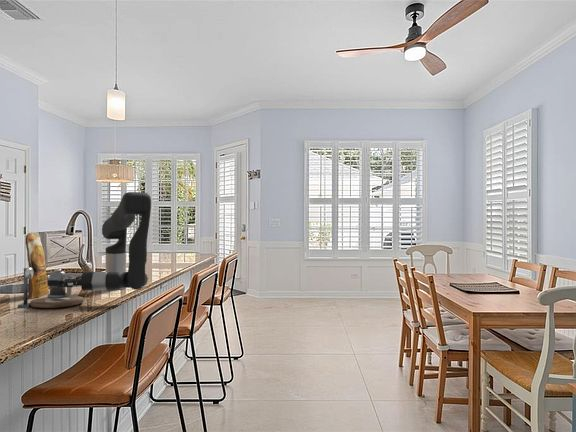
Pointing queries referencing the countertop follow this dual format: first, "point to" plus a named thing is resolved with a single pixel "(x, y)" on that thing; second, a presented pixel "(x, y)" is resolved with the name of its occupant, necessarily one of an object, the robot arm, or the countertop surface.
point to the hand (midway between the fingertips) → (50, 282)
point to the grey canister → (55, 290)
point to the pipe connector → (70, 287)
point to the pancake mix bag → (36, 266)
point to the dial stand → (26, 287)
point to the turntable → (56, 302)
